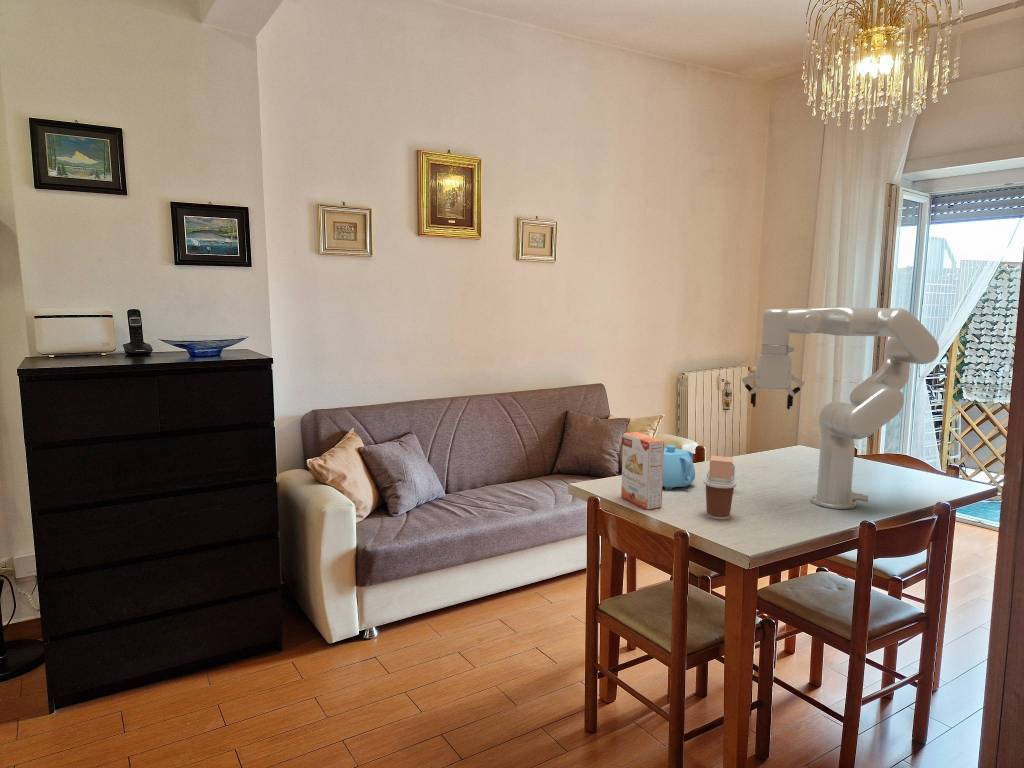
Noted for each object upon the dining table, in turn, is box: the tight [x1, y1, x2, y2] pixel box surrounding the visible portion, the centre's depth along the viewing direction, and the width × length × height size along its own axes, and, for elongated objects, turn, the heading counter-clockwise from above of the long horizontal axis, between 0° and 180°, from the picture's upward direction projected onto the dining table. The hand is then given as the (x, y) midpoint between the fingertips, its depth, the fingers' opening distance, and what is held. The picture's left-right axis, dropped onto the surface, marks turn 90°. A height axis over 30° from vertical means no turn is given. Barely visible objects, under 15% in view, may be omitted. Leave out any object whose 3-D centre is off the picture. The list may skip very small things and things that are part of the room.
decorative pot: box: [662, 444, 696, 490], centre depth 223 cm, size 16×16×14 cm
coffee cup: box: [703, 474, 738, 520], centre depth 191 cm, size 9×9×12 cm
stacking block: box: [708, 455, 734, 479], centre depth 190 cm, size 6×6×5 cm
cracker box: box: [620, 431, 665, 511], centre depth 202 cm, size 14×6×21 cm, turn 23°
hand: (771, 407), depth 199 cm, fingers open, 9 cm apart
